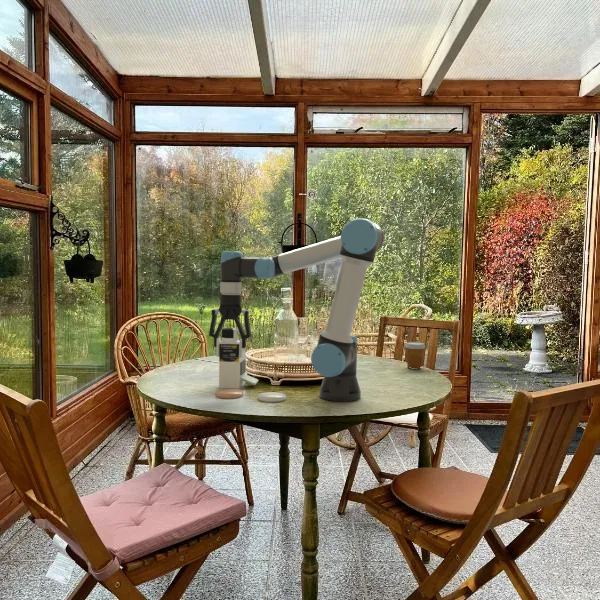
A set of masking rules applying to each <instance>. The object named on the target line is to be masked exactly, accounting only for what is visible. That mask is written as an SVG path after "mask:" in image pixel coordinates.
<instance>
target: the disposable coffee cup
mask: <svg viewBox="0 0 600 600" xmlns="http://www.w3.org/2000/svg"><path fill="white" fill-rule="evenodd" d="M404 347H405V352H406V363H407V365H406V366H407V368H408V367H411V368H420V367H421V368H422V364H423V358H424V353H425V352H424V351H425V348H426V344H425V342H419V341H407V342H405V345H404Z"/></svg>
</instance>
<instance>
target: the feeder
mask: <svg viewBox="0 0 600 600" xmlns="http://www.w3.org/2000/svg"><path fill="white" fill-rule="evenodd" d="M246 350H247V346H246V347H245V348H243V357H242V358H240V360H239V363H220V362H219V361H218V366H219V367H218V370H219V371H218V388H219V389H238V390H241V388H242V387H243V386H244V385H245V384H246V383H248V384H250V385H252V386H256V385H257V383H259V379H257V378H256V377H252V376H250V375H248V374H246V372H247V371H246V370H247V369H246V368H247V367H246V366H247V365H246V363H247V359H246Z"/></svg>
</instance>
